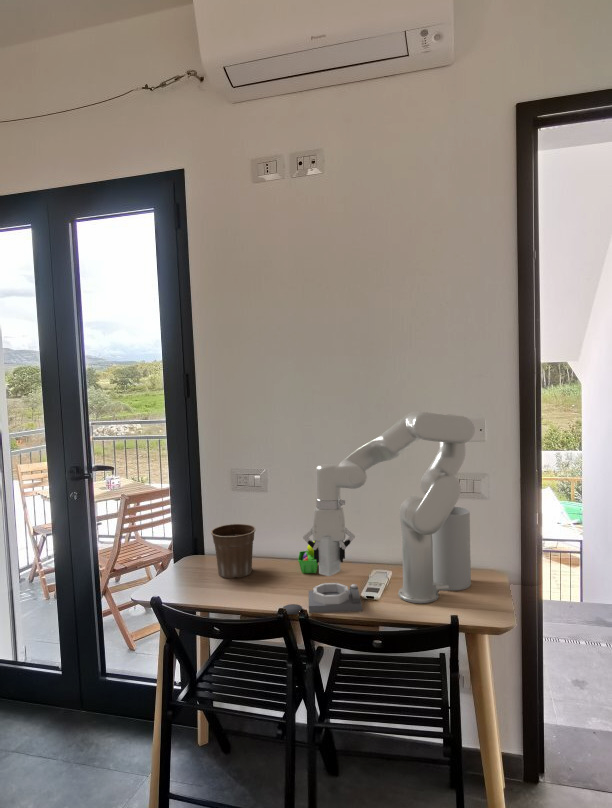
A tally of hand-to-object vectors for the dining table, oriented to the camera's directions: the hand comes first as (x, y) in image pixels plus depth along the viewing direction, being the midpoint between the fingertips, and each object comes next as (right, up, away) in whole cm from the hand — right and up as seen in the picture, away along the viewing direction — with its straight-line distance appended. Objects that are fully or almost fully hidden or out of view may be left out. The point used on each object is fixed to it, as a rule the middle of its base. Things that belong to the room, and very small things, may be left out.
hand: (329, 560), depth 167 cm
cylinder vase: (+42, -12, +14) cm, 45 cm away
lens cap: (-11, -14, -3) cm, 19 cm away
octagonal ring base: (+2, -14, +1) cm, 14 cm away
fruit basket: (-5, -13, +33) cm, 35 cm away
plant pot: (-33, -14, +31) cm, 47 cm away
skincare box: (0, -4, 0) cm, 4 cm away
